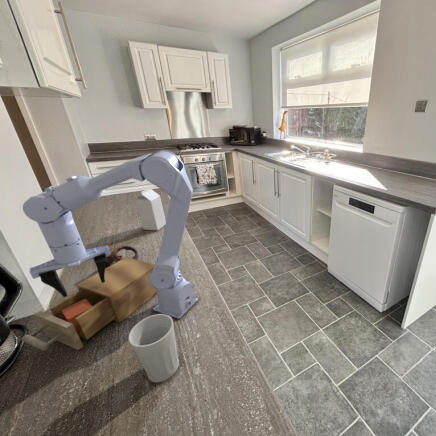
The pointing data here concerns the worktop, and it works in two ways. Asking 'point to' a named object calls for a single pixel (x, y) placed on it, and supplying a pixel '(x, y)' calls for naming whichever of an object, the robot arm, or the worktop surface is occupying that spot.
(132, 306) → the cabinet
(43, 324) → the drawer
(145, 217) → the milk carton
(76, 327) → the block
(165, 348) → the cup
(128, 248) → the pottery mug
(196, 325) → the worktop surface
